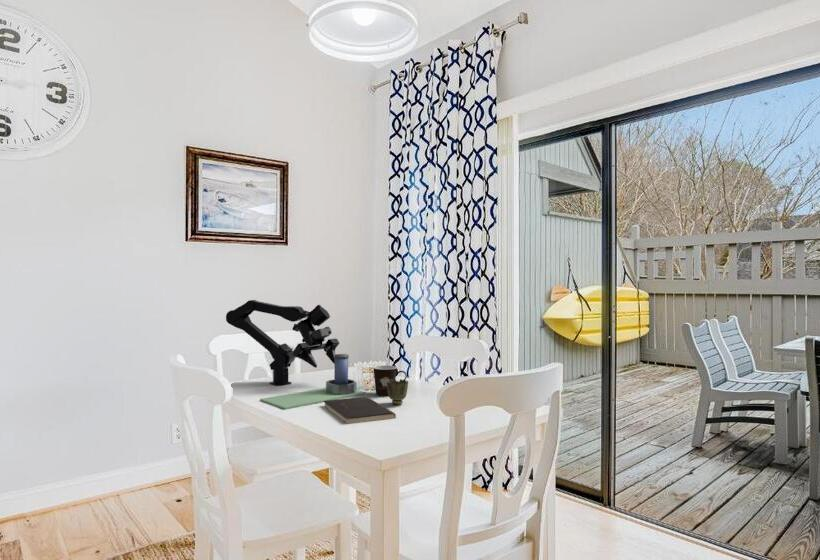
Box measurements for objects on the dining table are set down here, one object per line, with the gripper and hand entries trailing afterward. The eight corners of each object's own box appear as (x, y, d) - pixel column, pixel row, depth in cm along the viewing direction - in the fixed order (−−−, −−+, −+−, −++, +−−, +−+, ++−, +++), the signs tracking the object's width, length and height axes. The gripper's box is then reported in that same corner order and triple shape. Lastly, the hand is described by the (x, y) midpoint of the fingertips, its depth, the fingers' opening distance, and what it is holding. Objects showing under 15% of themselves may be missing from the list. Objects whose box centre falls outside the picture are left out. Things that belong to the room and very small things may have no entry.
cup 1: (320, 391, 194) (320, 381, 194) (343, 386, 202) (343, 377, 202) (338, 396, 186) (338, 386, 186) (362, 391, 194) (362, 382, 194)
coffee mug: (369, 395, 190) (369, 368, 190) (379, 391, 198) (379, 364, 198) (398, 399, 185) (398, 371, 185) (407, 394, 193) (407, 367, 193)
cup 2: (409, 401, 182) (409, 378, 181) (406, 407, 174) (407, 383, 174) (387, 401, 182) (388, 378, 182) (384, 406, 175) (385, 382, 175)
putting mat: (260, 400, 180) (260, 398, 180) (339, 386, 204) (339, 385, 204) (285, 409, 169) (285, 407, 169) (365, 393, 193) (365, 392, 193)
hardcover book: (346, 425, 154) (346, 418, 154) (323, 407, 174) (323, 400, 174) (395, 419, 161) (395, 412, 161) (368, 403, 181) (368, 396, 181)
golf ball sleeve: (331, 391, 192) (332, 355, 192) (337, 388, 197) (337, 353, 197) (344, 391, 191) (345, 356, 190) (350, 389, 196) (350, 354, 196)
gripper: (297, 322, 195) (315, 355, 188) (336, 318, 208) (354, 349, 201) (285, 340, 200) (302, 373, 193) (324, 335, 214) (341, 366, 207)
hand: (326, 365), depth 199 cm, fingers open, 9 cm apart
